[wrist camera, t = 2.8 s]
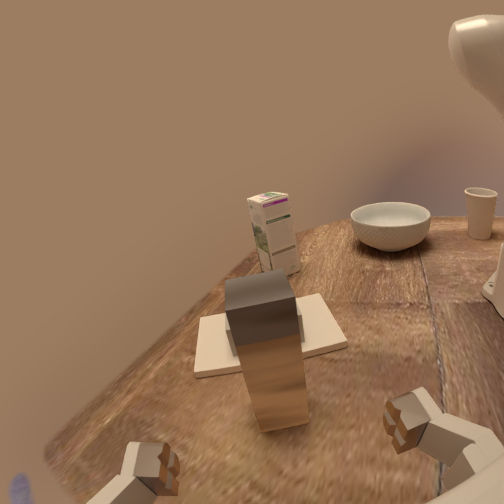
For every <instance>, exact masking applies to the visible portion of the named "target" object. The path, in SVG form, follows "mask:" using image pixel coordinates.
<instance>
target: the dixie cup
mask: <svg viewBox="0 0 504 504" xmlns="http://www.w3.org/2000/svg"><path fill="white" fill-rule="evenodd" d="M465 193H466V203H467V215H468V230H469V236H470V237H472V238H474V239H478V240H487V239H489V238H490V235H491V230H492V225H493V219H494V213H495V206H496V199H497V196H498V194H497V192H495V191H493V190H489V189H484V188H468V189H466V190H465Z"/></svg>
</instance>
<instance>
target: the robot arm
mask: <svg viewBox="0 0 504 504" xmlns="http://www.w3.org/2000/svg"><path fill="white" fill-rule="evenodd" d="M448 44H449V52H450V56H451V59H452V61H453V64H454V65H455V67H456V69H457V71H458V72H459V74H460V75H461V77H462V78H463V79H464V80H465V81H466V82H467V83H468V84H469V85H470V86H471V87H472V88H473V89H475V90H476V91H478V92H479V93H480V94H482V95H483V96H484V97H485V98H486V99H487V100H488V101H489V102H490V103H491V104H492V105H493V106H494V108H495V109H496V110H497V112H498V113H499V115H500V116H501V118H502V119H503V121H504V15H478V16H474V17H469V18H465V19H462V20H458V21H455V22H454V23H453V25H452V27H451V29H450V32H449V38H448ZM481 293H482V295H483V296H484V297H486V298H487V299H488V300H490V301H491V302H492V303H493V305H494V306H495V308H496V310H497V311H498V313H499V314H500V315H501V316H502V317H503V318H504V242H503V243H502V244H501V246H500V253H499V259H498V265H497V270H496V271H495V272H494V274H493V275H492V276H491V277H490V278H489V280H488V281H487V282H486V283H485V284H484V286H483V288H482V292H481ZM385 407H386V409H387V410H386V411H385V412H384V414H383V425H384V428H385V430H386V432H387V434H388V435H390V436H393V439H392V444H393V446H394V448H395V450H396V452H397V454H400V453H403V452H405V451H408V450H410V449H413V448H415V447H417V448H418V449H420V450H421V451H423V452H425V453H427V454H428V455H430V456H432V457H433V458H435V459H437V460H439V461H440V462H442V463H444V464H446V465H448V466H449V467H450V468H449V469H448V471H447V472H446V473H445V474H444V476H443V478H442V480H443V482H444V484H445V486H446V488H447V490H448V491H447V492H445V493H444V494H442V495H440V496H438V497H436V498H434V499H432V500H431V501H429V502H427V503H425V504H504V447H503V445H502V444H501V442H500V441H499V440H498V438H497V437H496V435H495V434H494V433H493V431H492V430H491V429H488V428H485V427H483V426H480V425H477V424H474V423H472V422H469V421H466V420H464V419H461V418H458V417H456V416H453V415H451V414H448V413H445V414H443V413H442V412H441V410H440V409H439V407H438V406H437V405H436V403H435V402H434V400H433V399H432V398H431V396H430V395H429V393H428V392H427V391H426V389H425V388H423V387H420V388H417V389H415V390H413V391H410V392H407V393H405V394H403V395H400V396H398V397H395V398H393V399H390V400H388V401H387V402H386V406H385ZM170 448H171V447H170V446H169V444H168V443H147V442H129V444H128V445H127V449H126V453H125V457H124V461H123V465H122V470H121V474H120V475H116V476H115V477H114V478H113V479H112V480H111V481H110V482H109V483H108V484H107V485H106V486H105V487H104V488H103V489H102V490H100V491H99V492H98V493H97V494H96V495H95V496H94V497H93V498H92V499H91V500H90V501H88V502H87V503H86V504H153V503H154V501H155V500H156V499H157V497H158V496H178V487H179V482H178V481H177V479H176V477H177V476H178V474H179V473H180V464H179V459H178V457H177V455H176V454H175V453H174V452H172V451H170Z"/></svg>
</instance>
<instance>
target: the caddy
mask: <svg viewBox="0 0 504 504" xmlns="http://www.w3.org/2000/svg"><path fill="white" fill-rule="evenodd" d="M296 306H297V313H298V321H299V329H300V337H301V346H302V354H303V358H307V357H311V356H315V355H319V354H323V353H327V352H331V351H334V350H338V349H342V348H345V347H347V339H346V338H345V336H344V334H343V333H342V331H341V329H340V327H339V326H338V324H337V322H336V321H335V319H334V317H333V316H332V314H331V312H330V310H329V309H328V307H327V305H326V304H325V302H324V300H323V299H322V297H321V295H320V294H319V293H318V294H314V295H309V296H305V297H300V298H296ZM240 371H242V368H241V365H240V362H239V358H238V355H237V351H236V348H235V344H234V341H233V337H232V334H231V330H230V327H229V323H228V319H227V316H226V312H225V313H223V314H217V315H212V316H206V317H201V318H200V325H199V333H198V342H197V350H196V359H195V368H194V373H195V376H196V378H201V377H208V376H215V375H222V374H228V373H234V372H240Z"/></svg>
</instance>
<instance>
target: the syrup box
mask: <svg viewBox="0 0 504 504" xmlns="http://www.w3.org/2000/svg"><path fill="white" fill-rule="evenodd" d="M247 202H248V207H249V212H250V217H251V222H252V226H253V231H254V236H255V241H256V246H257V251H258V256H259V261H260V266H261V271H263V272H268V271H273V270H278V269H282V268H283V270H284V272H285V275H286V276H289V275H291V274H294V273H296V272H298V271H300V263H299V256H298V249H297V243H296V236H295V230H294V225H293V218H292V212H291V206H290V200H289V195H288V194H284V193H278V192H267V193H263V194H259V195H256V196H253V197H250V198H247Z"/></svg>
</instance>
